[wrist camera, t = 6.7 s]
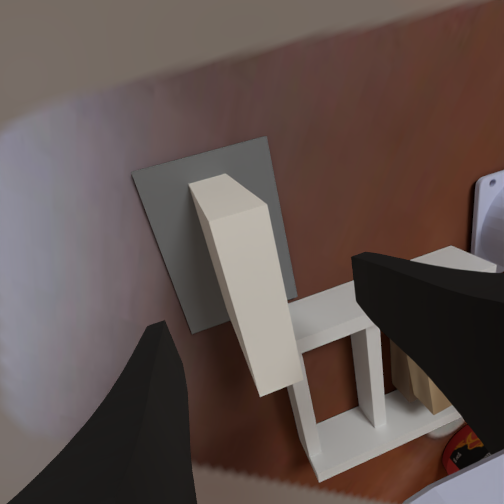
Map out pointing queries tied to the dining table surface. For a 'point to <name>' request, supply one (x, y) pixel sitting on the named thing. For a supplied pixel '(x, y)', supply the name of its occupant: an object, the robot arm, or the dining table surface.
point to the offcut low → (401, 372)
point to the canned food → (463, 450)
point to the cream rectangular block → (249, 279)
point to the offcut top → (426, 389)
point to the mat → (189, 228)
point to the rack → (360, 379)
